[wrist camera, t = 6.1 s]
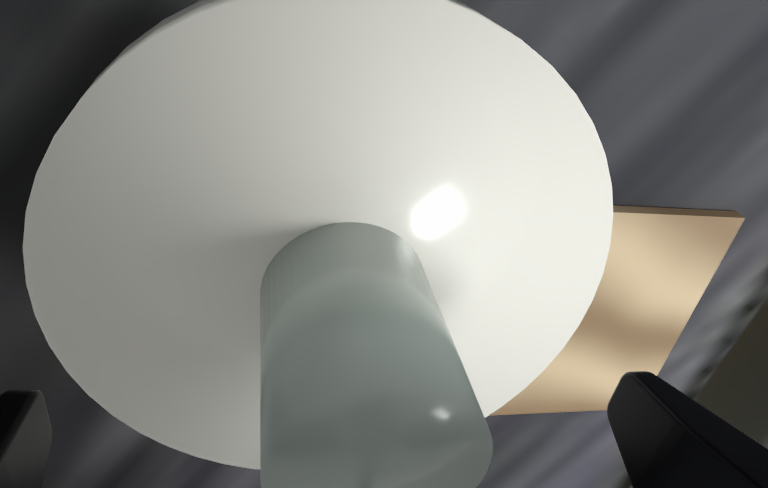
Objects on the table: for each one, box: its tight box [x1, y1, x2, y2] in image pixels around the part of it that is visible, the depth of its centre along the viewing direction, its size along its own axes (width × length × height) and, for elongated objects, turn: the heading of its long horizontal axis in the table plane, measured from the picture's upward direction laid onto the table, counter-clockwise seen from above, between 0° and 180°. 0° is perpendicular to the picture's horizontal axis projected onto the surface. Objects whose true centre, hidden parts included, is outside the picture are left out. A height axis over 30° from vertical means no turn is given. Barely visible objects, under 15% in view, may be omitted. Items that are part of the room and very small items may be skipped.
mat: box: [490, 205, 745, 415], centre depth 26 cm, size 12×12×1 cm
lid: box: [23, 0, 613, 488], centre depth 10 cm, size 11×11×5 cm
